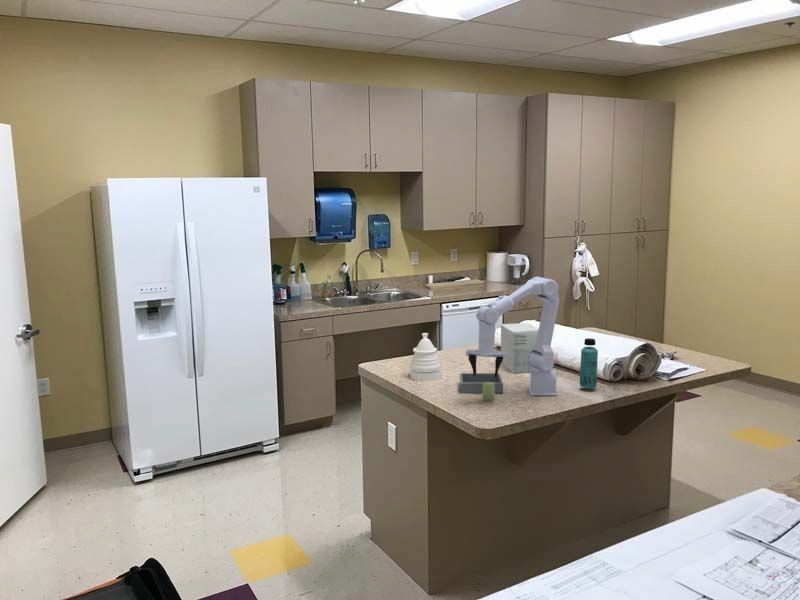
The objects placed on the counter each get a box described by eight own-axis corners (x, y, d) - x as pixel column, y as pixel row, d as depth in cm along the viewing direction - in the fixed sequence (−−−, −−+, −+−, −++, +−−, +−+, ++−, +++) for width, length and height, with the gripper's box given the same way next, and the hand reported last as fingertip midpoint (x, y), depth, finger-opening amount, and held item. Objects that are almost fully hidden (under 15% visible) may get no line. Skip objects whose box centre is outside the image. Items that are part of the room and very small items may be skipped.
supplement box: (542, 371, 276) (543, 330, 273) (512, 373, 274) (512, 331, 271) (528, 361, 293) (528, 322, 290) (499, 363, 291) (500, 323, 288)
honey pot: (410, 372, 279) (409, 331, 276) (440, 372, 279) (439, 331, 276) (410, 381, 266) (410, 338, 263) (442, 380, 266) (441, 337, 263)
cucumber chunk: (494, 397, 244) (494, 382, 243) (495, 401, 239) (495, 385, 238) (482, 397, 244) (482, 382, 243) (483, 401, 240) (483, 385, 238)
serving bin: (499, 382, 262) (499, 373, 261) (503, 393, 248) (503, 383, 247) (459, 382, 263) (459, 373, 262) (460, 393, 249) (460, 383, 248)
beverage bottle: (575, 388, 252) (577, 338, 249) (588, 386, 255) (589, 336, 252) (588, 393, 246) (589, 341, 243) (600, 390, 250) (602, 339, 246)
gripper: (464, 340, 233) (463, 377, 235) (505, 343, 230) (504, 380, 232) (467, 336, 240) (466, 372, 242) (507, 339, 237) (506, 375, 239)
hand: (485, 376), depth 238 cm, fingers open, 7 cm apart
